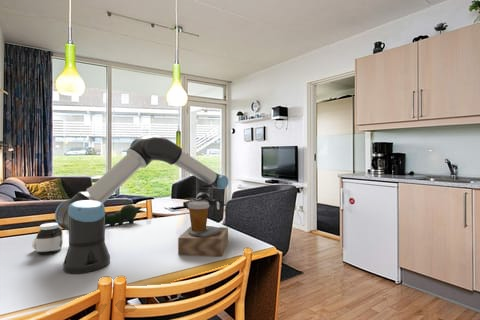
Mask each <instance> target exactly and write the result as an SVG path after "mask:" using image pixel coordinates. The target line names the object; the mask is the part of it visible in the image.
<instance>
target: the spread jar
mask: <svg viewBox="0 0 480 320" xmlns="http://www.w3.org/2000/svg"><path fill="white" fill-rule="evenodd" d="M63 237H64V235H63V230H62V228H61V227H60V226H59V225H58V223H57V222H45V223H42V224H40V225H39V231H38V233H37V234H36V237H35V238H34V239H33V241H32V244H31V247H32V249H34V250H36V252H37V254H39V255H41V256H45V255H46V256H47V255H53V254H56V253H58V252H60V251H61V250H62V247H63V242H64V241H63V239H64V238H63Z"/></svg>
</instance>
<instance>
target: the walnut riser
mask: <svg viewBox="0 0 480 320" xmlns="http://www.w3.org/2000/svg"><path fill="white" fill-rule="evenodd" d="M177 241H178V242H177V245H178V246H177V249H178V250H177V251H178V252H177V253H178V254H177V255H178V256H201V257H222V255H224V252H225V249H226V247H227V246H228V243H229V227H222V226H221V227H220V226H219V227H217V226H213V225H212V226H211V225H206V230H204V231H199V232H198V231H192V228H191V226H189V228H187V229H186V230H185V231H184V232H183V233H182V234H181V235H179V236H178V238H177Z"/></svg>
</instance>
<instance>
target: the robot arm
mask: <svg viewBox="0 0 480 320" xmlns="http://www.w3.org/2000/svg"><path fill="white" fill-rule="evenodd" d="M153 161H160V162H164V163H166V164H169V165H170V166H172V165H175V166H176V167H178V168H179V169H181V170H183V171H185V172H187V173H188V174H190V175H192V176H193V177H196V178H195V179H196V192H195V193H196V194H195V196H196V197H195V200H194V199H192V198H191V199H189V200H186V201H183V203H182V206H183V208H186V209H187V210H189V208H188V205H189V202H193V201H206V202H209V205H210V206H209V207H211V206H214V207H216V209H217V210H220V208H221V207H225V201H224V200H221V199H217V198H214V199H211V197H210V189H211V188H212V189H219V190H224V189H226V188H227V187H228V186H229V177H227V175H223V174H219V173H218V172H215V171H214V170H213V169H211V168H209V167H208V166H206V165H204V164H203V163H202V162H200V161H198V159H196V158H194V157H193V156H191V155H189V154H187V153H186V152H184V151H183V148H182V147H181V146H179V144H176V143H175V142H173V141H171V140H169V139H168V138H166V137H164V136H161V135H150V136H149V135H148V136H145V135H144V136H140V137H136V138H135V139H134V140H132V141H131V144H130V146H129V148H127V149H126V154H125V156H123V158H121V159H120V160H119V161H118V162H117V163H116V164H114V165H113V166H112V167H111V168H110V169H109V170H108V171H107V172H106V173H104V174H103V175H102V176H101V177H100V178H99V179H98V180H97V181H96V182H94V183H93V184H92V185H91V186H90V187H88V188H89V189H88V190H85V191H78V192H77V193H76V194H75V195H74V196H73V197H71V198H70V199H66V200H65V201H62V202H61V203H60V204H59V205H58V206H57V208H56V209H55V213H54V219H55V221H56V222H55V223H58V225H59V228H61V229H64V230H65V231H68V249H67V250H66V251H67V252H66V254H65V257H64V261H63V265H62V267H63V268H62V269H63V272H65V273H66V274H67V273H68V274H85V273H90V272H95V271H98V270H100V269H103V268H105V267H107V266H108V265H109V264H110V262H111V256H110V253H109V250H108V247H107V244H106V238H105V236H106V231H105V229H106V228H105V227H106V225H105V212H106V210H105V204H104V203H105V202H107V200H109V197H111V196H113V195H114V194H115V193H116V192H117V190H119V189H120V188H121V187H122V186H123V185H124V184H125V183H126V182H127V181H128V180H129V179H130V178H131V177H132V176H133V175H135V174H136V172H138V170H139V169H141V168H142V169H144V168H147V166H148V165H149V164H150V163H151V162H153Z"/></svg>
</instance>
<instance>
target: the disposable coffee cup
mask: <svg viewBox="0 0 480 320" xmlns="http://www.w3.org/2000/svg"><path fill="white" fill-rule="evenodd" d="M210 207H211V206H210V205H209V202H206V201H195V200H193V202H189V205H188V208H189V209H188V211H189V219H190V227H191V228H192V231H198V232H199V231H204V230H206V226H207V222H208V213H209V208H210Z"/></svg>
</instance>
